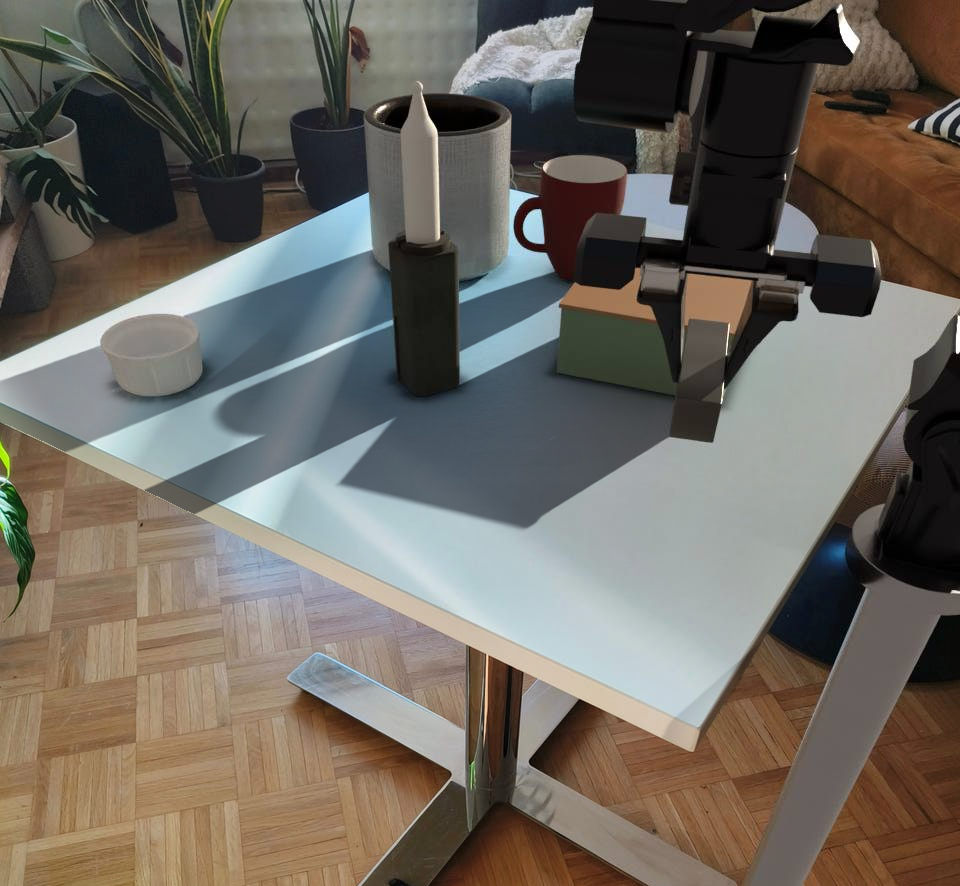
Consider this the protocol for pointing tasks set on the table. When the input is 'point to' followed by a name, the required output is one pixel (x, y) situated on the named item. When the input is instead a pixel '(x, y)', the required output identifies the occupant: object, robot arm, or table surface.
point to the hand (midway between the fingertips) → (699, 383)
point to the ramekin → (154, 353)
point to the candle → (424, 267)
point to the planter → (446, 176)
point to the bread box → (636, 330)
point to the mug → (571, 205)
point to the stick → (700, 381)
